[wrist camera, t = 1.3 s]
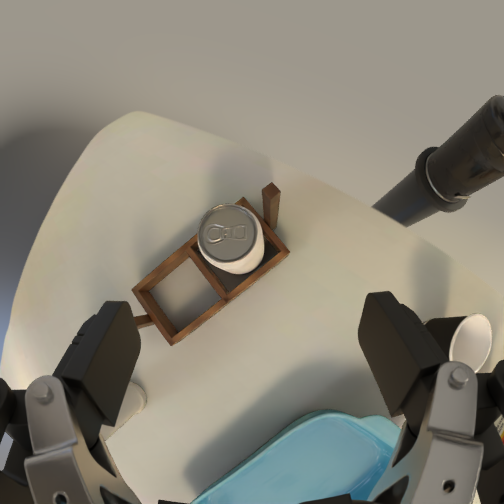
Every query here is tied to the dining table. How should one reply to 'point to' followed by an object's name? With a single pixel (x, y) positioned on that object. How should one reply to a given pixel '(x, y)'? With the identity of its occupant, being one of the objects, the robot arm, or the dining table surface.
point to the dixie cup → (463, 338)
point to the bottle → (127, 409)
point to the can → (231, 238)
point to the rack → (208, 272)
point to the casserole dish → (311, 462)
